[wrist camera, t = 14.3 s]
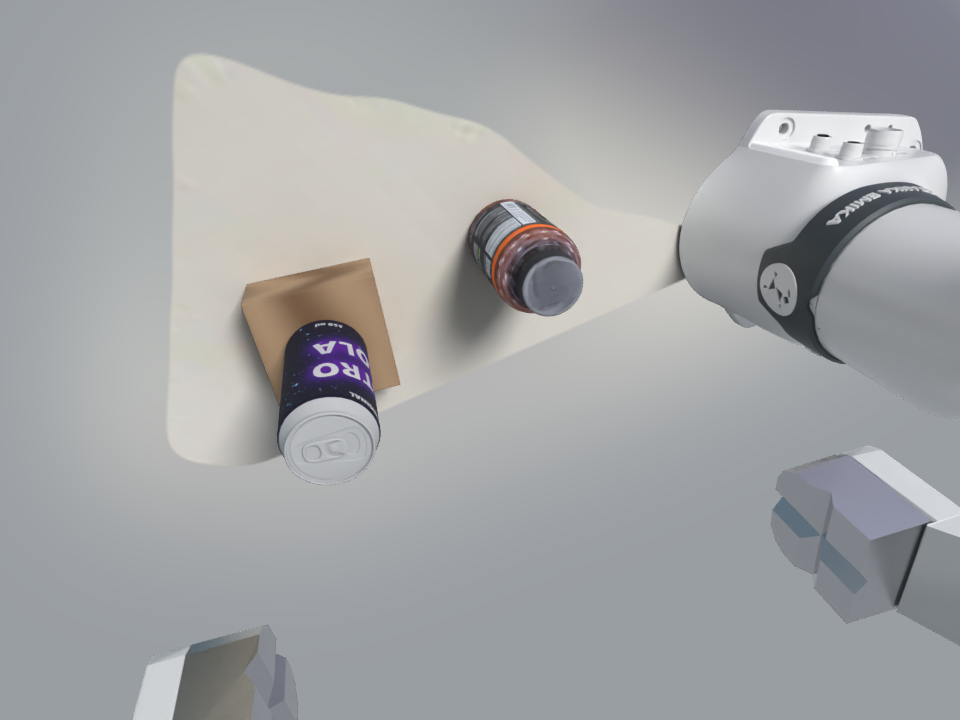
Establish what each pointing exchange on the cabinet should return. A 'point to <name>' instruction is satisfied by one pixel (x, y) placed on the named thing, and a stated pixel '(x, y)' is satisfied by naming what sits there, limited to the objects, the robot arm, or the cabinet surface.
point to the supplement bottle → (526, 258)
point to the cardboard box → (319, 315)
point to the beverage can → (327, 404)
